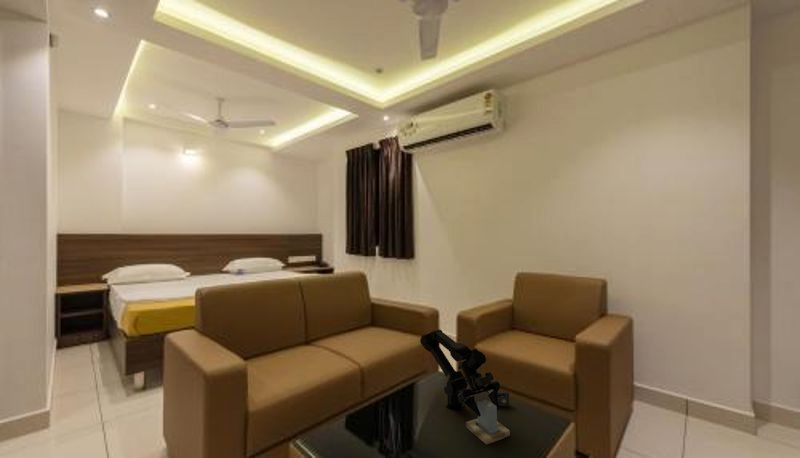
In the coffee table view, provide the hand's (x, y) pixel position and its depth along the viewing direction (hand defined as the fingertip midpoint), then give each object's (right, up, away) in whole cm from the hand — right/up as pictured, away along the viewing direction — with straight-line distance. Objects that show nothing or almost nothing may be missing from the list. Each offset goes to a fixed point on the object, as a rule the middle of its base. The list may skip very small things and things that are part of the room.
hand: (489, 413), depth 139 cm
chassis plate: (0, -8, +1) cm, 8 cm away
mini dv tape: (+10, -7, +21) cm, 24 cm away
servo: (0, -8, +1) cm, 8 cm away
